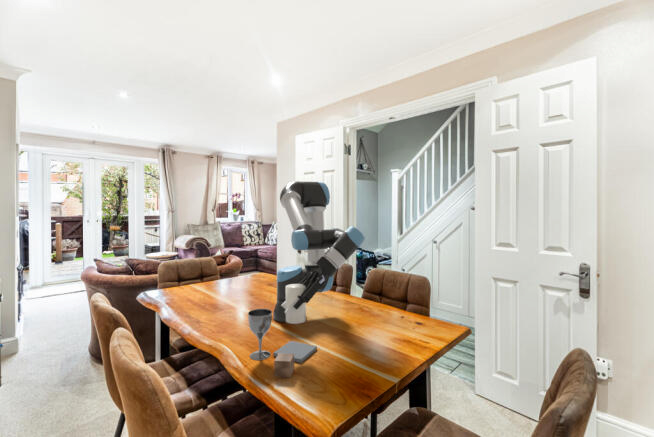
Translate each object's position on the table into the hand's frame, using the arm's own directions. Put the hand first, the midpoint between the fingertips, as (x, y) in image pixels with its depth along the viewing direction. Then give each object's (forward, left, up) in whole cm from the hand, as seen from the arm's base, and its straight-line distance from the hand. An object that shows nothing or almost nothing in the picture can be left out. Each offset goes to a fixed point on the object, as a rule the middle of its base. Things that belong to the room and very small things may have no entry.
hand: (285, 311), depth 107 cm
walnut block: (+7, -11, -15) cm, 20 cm away
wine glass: (-7, -5, -15) cm, 18 cm away
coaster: (+3, +2, -15) cm, 15 cm away
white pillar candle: (+3, +2, -3) cm, 5 cm away
